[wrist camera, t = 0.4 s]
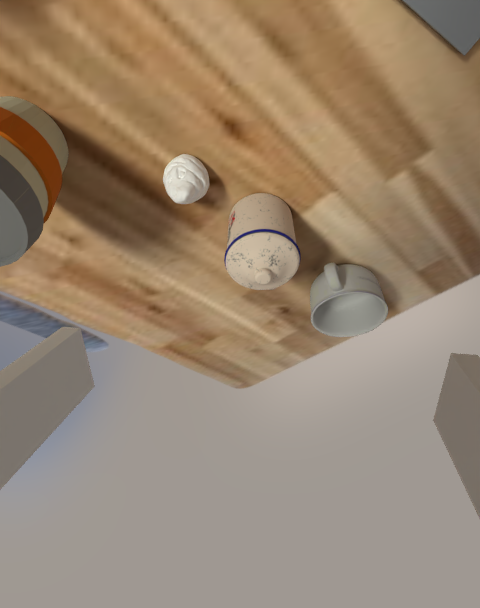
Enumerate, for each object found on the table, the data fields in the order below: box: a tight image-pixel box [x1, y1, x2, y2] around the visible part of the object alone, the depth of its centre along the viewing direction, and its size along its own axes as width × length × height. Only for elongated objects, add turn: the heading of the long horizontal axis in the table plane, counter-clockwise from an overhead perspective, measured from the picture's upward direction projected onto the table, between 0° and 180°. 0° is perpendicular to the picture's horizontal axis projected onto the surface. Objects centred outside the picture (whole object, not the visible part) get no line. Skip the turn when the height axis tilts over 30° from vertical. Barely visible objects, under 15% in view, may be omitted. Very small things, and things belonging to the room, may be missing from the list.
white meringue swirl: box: [163, 154, 209, 204], centre depth 40 cm, size 6×6×5 cm
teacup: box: [310, 263, 388, 337], centre depth 51 cm, size 14×11×8 cm
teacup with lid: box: [225, 193, 300, 290], centre depth 43 cm, size 12×9×12 cm
